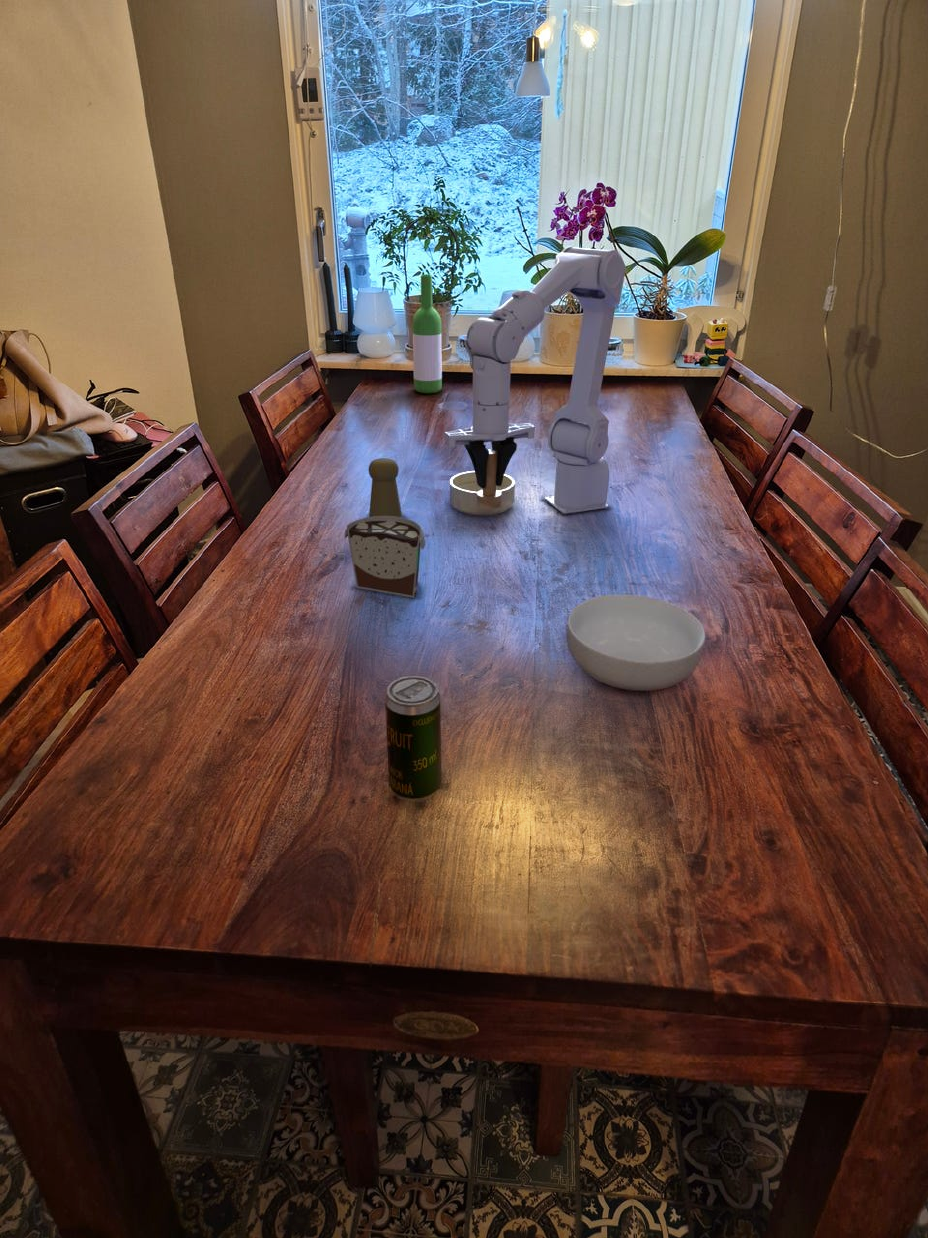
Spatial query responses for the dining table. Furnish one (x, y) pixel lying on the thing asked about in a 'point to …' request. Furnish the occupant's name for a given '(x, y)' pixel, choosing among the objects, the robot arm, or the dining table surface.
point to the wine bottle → (427, 342)
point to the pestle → (490, 486)
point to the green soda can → (413, 738)
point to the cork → (384, 488)
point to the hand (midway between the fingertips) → (489, 485)
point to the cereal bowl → (635, 641)
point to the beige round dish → (466, 494)
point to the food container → (386, 554)
